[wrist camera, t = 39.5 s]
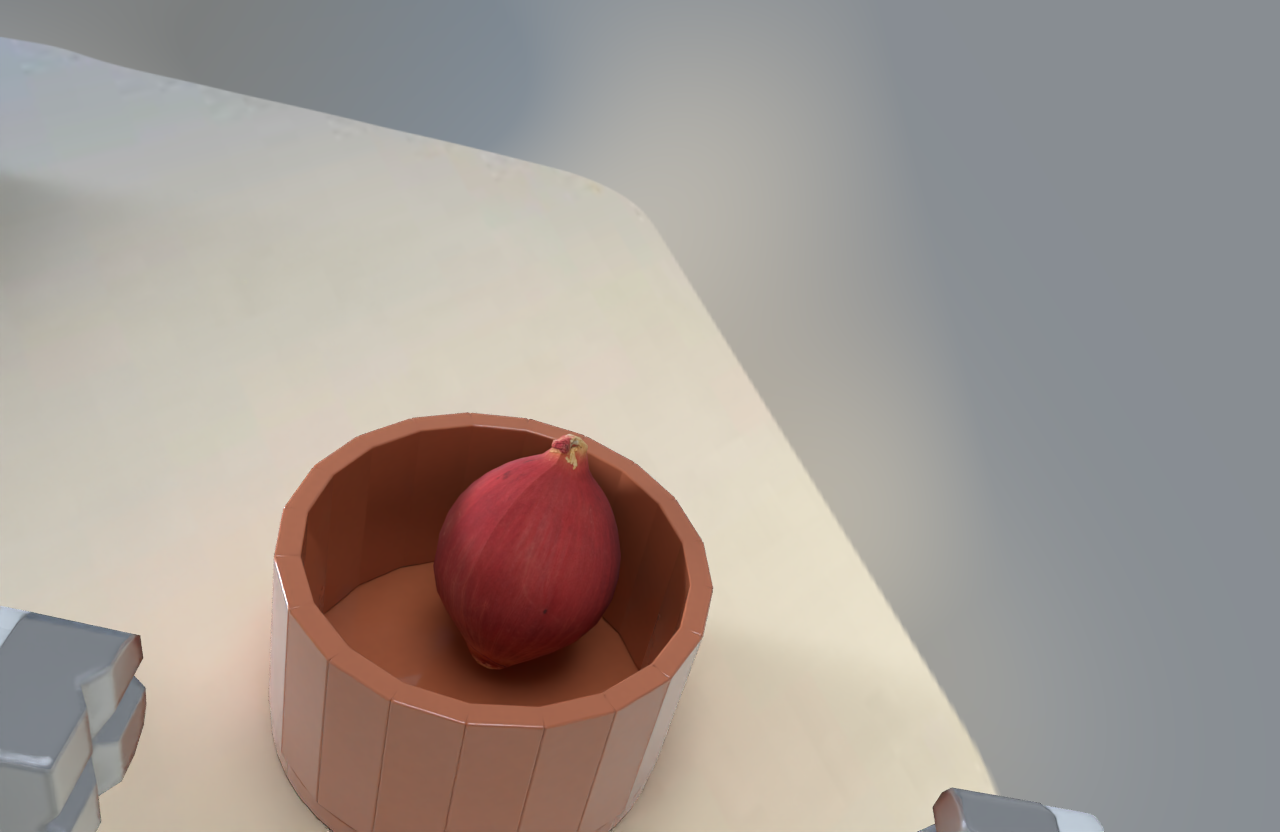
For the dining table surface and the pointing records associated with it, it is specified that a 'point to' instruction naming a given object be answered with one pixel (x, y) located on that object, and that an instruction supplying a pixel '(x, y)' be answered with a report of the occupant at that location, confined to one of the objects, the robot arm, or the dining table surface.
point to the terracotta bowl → (439, 656)
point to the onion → (529, 556)
